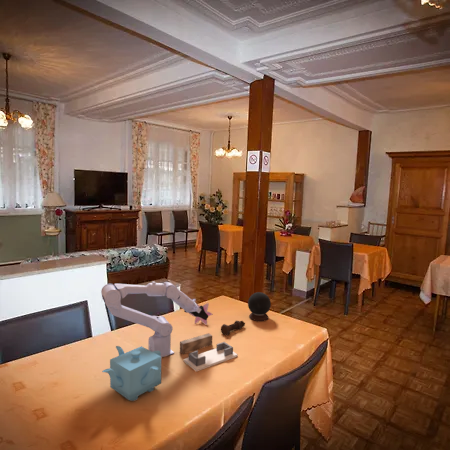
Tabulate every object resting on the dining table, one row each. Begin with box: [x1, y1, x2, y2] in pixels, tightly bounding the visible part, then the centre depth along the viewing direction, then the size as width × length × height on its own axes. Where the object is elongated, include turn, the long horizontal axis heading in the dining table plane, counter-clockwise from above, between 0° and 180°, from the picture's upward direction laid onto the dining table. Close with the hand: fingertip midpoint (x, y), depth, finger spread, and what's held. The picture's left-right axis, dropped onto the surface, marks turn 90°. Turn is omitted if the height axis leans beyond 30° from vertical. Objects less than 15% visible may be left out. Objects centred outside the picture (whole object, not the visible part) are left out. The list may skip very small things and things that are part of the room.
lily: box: [188, 302, 213, 326], centre depth 192 cm, size 12×12×10 cm
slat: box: [179, 333, 213, 355], centre depth 161 cm, size 16×3×5 cm, turn 127°
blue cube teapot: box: [102, 345, 162, 402], centre depth 126 cm, size 19×19×15 cm
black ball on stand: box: [247, 291, 272, 322], centre depth 199 cm, size 13×13×15 cm
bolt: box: [220, 320, 246, 337], centre depth 181 cm, size 6×5×15 cm
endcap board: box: [183, 341, 239, 372], centre depth 151 cm, size 22×10×4 cm, turn 127°
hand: (202, 316), depth 164 cm, fingers open, 7 cm apart
